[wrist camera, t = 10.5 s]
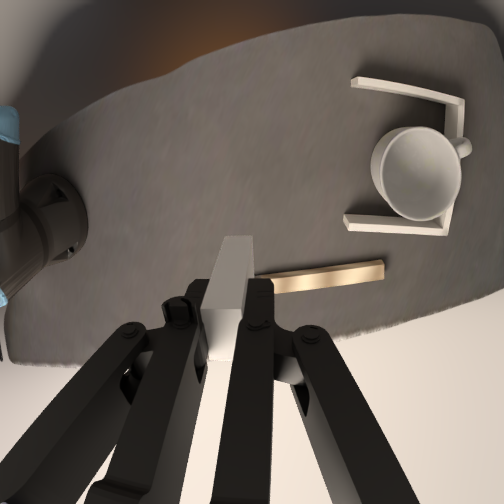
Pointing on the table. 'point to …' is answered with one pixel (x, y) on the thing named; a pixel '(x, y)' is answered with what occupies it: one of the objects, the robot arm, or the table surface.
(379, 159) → the teacup
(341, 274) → the birch bar
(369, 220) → the tray
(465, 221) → the table surface
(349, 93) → the table surface
